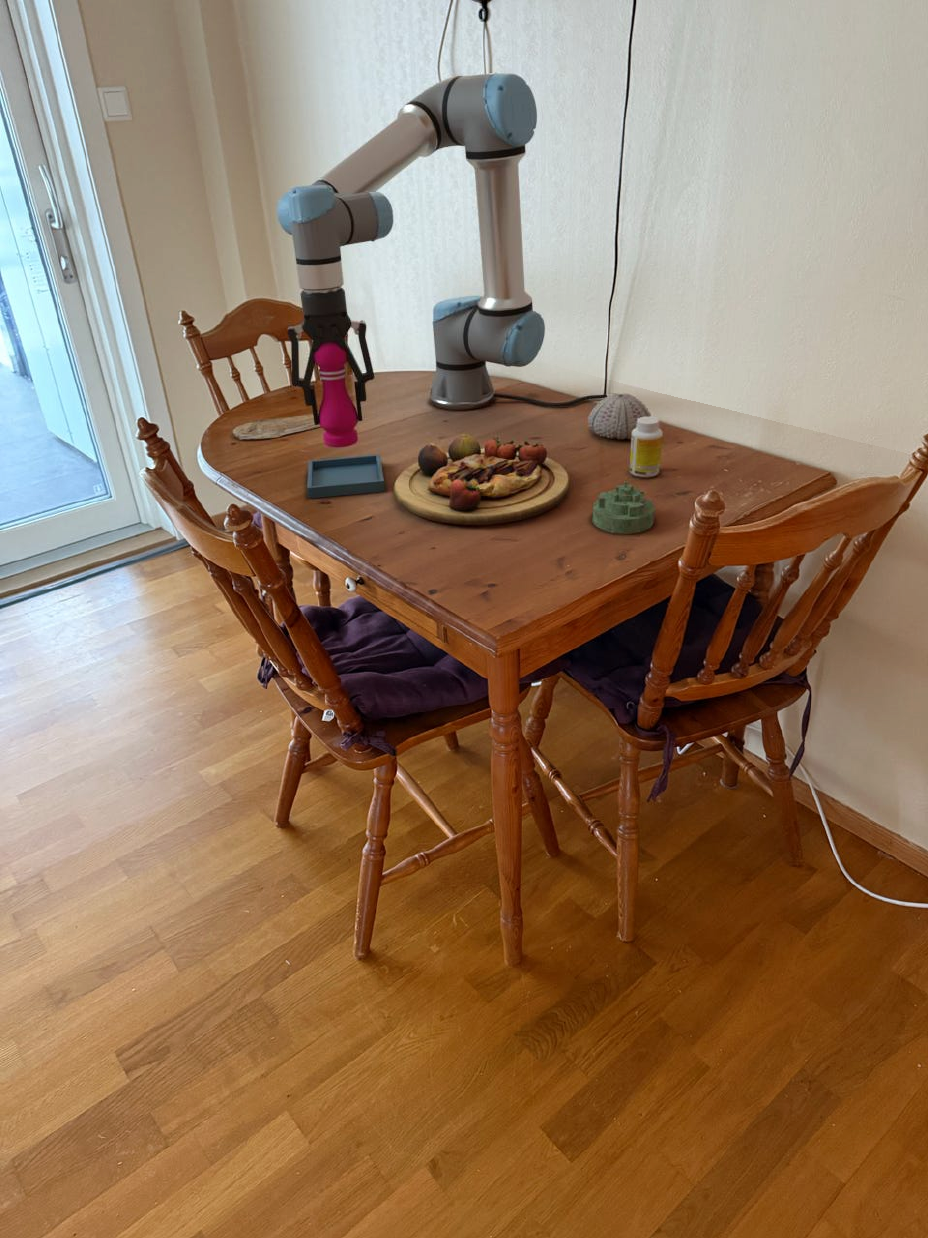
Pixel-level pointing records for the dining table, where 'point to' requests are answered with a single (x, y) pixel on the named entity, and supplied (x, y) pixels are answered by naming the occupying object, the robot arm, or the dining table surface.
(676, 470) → the dining table surface
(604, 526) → the decorative artifact
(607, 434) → the sea urchin shell
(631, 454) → the supplement bottle
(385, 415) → the dining table surface
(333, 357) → the pepper mill
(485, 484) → the wooden plate
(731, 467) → the dining table surface
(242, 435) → the fish fossil
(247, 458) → the dining table surface
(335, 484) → the tray
